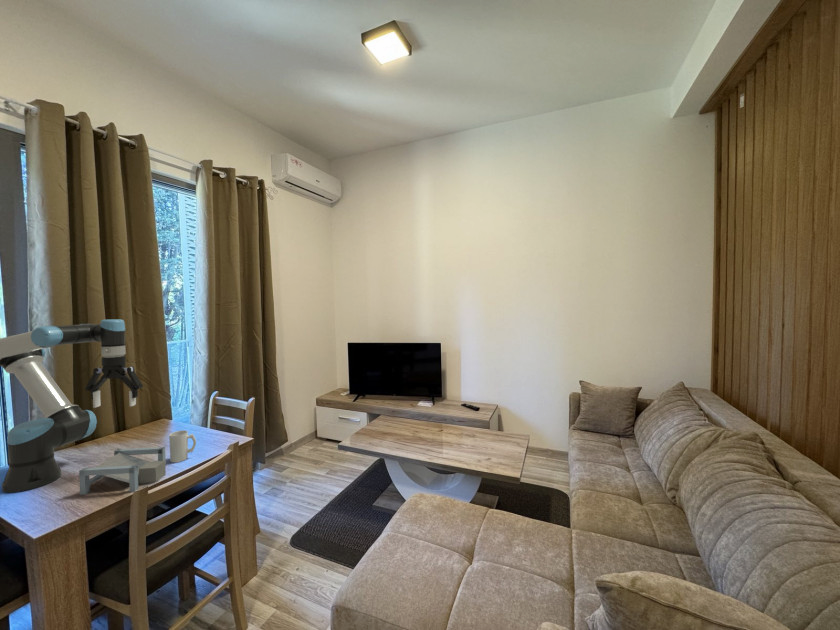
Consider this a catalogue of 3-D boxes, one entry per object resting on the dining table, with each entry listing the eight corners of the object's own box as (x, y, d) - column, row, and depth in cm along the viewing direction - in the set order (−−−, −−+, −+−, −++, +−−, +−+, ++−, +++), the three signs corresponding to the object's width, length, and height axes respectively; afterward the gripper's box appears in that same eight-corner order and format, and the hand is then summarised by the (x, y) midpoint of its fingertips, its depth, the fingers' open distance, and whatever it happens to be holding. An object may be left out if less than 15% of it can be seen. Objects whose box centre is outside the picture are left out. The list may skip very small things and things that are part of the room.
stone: (138, 468, 130) (155, 467, 131) (149, 461, 136) (165, 460, 137) (139, 483, 130) (155, 482, 131) (149, 476, 136) (165, 475, 137)
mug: (167, 464, 146) (166, 436, 146) (172, 457, 153) (172, 431, 152) (193, 460, 150) (193, 434, 149) (198, 454, 156) (198, 428, 156)
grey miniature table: (79, 494, 122) (79, 470, 122) (118, 470, 141) (117, 449, 140) (135, 491, 125) (134, 467, 125) (165, 467, 143) (165, 446, 143)
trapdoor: (90, 471, 125) (91, 468, 125) (118, 454, 138) (119, 452, 138) (129, 483, 126) (130, 480, 126) (153, 465, 140) (154, 463, 140)
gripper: (72, 358, 135) (73, 410, 136) (140, 356, 139) (141, 407, 139) (88, 355, 143) (89, 404, 143) (152, 354, 146) (153, 402, 147)
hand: (115, 406), depth 141 cm, fingers open, 13 cm apart
